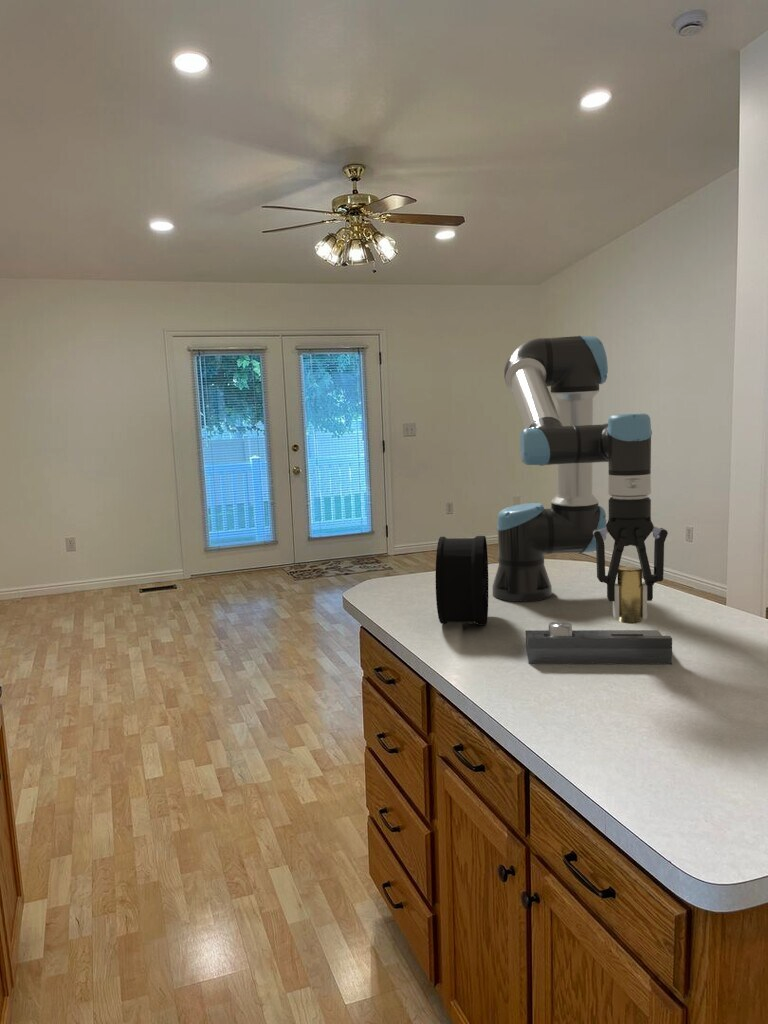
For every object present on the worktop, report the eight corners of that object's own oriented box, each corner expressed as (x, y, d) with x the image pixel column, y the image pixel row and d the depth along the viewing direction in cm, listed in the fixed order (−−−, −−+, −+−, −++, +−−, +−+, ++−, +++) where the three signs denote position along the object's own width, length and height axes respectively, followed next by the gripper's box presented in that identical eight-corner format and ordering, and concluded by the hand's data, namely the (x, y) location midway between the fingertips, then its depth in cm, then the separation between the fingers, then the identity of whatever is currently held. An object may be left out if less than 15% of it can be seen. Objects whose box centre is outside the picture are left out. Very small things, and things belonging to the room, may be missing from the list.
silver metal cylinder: (548, 650, 141) (547, 621, 140) (570, 650, 140) (570, 621, 139) (550, 657, 136) (549, 628, 135) (573, 657, 136) (573, 628, 135)
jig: (525, 644, 144) (525, 621, 144) (658, 644, 140) (658, 620, 140) (528, 663, 134) (528, 638, 133) (671, 664, 130) (672, 638, 129)
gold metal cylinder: (615, 617, 137) (615, 567, 136) (639, 616, 137) (639, 566, 135) (620, 623, 133) (619, 572, 132) (644, 623, 132) (644, 571, 131)
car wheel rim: (484, 636, 151) (481, 545, 148) (437, 635, 153) (433, 545, 150) (489, 610, 170) (486, 528, 167) (447, 609, 172) (444, 529, 169)
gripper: (584, 500, 129) (585, 623, 133) (683, 497, 127) (682, 622, 130) (579, 495, 137) (580, 612, 140) (673, 492, 134) (672, 611, 137)
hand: (629, 616), depth 135 cm, fingers closed on gold metal cylinder, 4 cm apart
